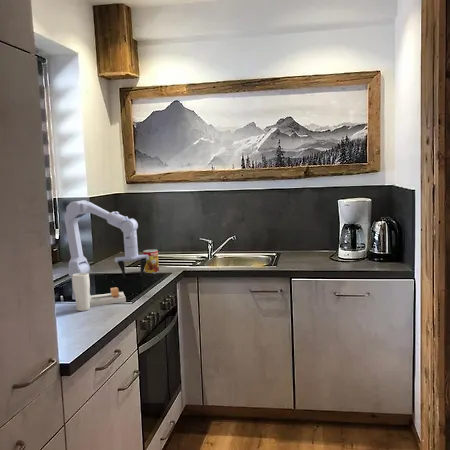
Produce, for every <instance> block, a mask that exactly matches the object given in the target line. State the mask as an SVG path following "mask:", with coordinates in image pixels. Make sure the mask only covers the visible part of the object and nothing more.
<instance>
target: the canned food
mask: <svg viewBox="0 0 450 450" xmlns="http://www.w3.org/2000/svg"><path fill="white" fill-rule="evenodd" d="M142 252H143V254H142V255H147V254H148V256H149V259H146V260H147V262H146V265H145V267H144V273H145V272H148V273H152V272H157V271H159V272H160V266H159V265H160V264H159V251H158V249H146V250H145V249H144V250H143V251H142Z"/></svg>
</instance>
